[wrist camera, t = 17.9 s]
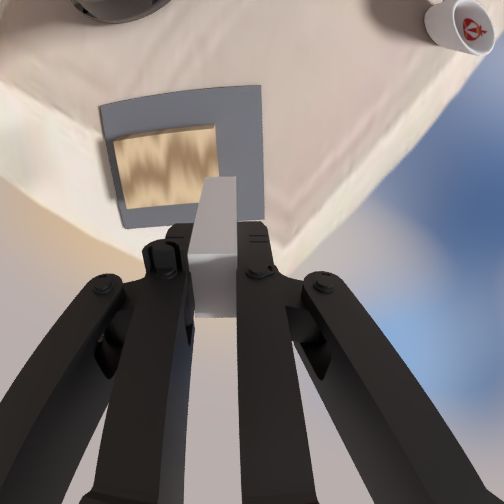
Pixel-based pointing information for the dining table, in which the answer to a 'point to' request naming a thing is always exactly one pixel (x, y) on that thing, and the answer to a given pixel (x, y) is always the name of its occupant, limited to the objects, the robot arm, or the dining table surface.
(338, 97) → the dining table surface
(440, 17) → the cup
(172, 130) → the tan block
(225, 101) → the slate mat
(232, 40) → the dining table surface
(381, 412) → the robot arm
